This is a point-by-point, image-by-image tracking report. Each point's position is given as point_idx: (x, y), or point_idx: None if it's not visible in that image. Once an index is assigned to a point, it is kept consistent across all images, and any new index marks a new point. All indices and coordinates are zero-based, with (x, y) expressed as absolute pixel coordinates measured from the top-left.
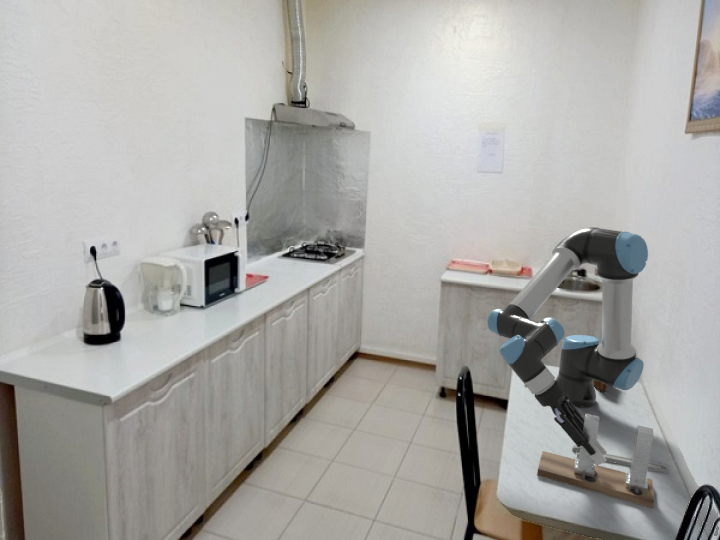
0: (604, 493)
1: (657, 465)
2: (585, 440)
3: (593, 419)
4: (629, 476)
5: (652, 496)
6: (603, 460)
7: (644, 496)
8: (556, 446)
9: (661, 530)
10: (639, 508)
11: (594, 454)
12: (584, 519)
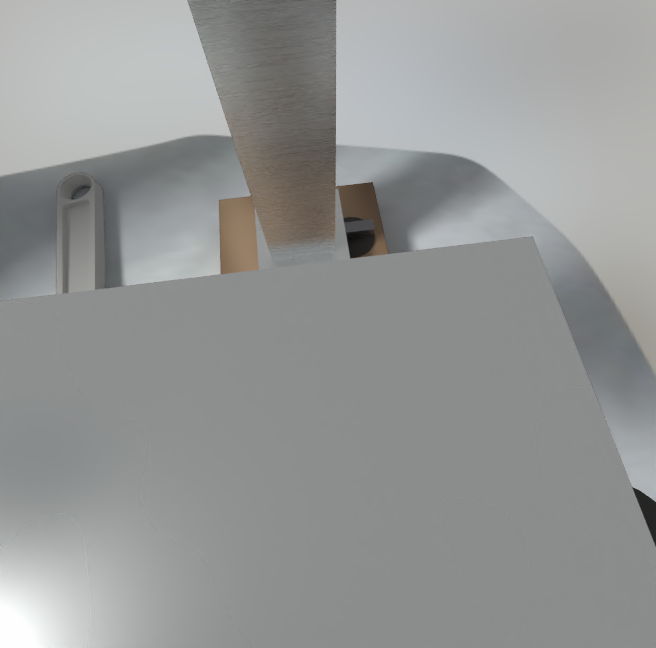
0: None
1: (69, 206)
2: (648, 509)
3: (443, 500)
4: (297, 252)
5: (345, 188)
6: None
7: (365, 210)
8: None
9: (478, 174)
10: (403, 236)
11: None
12: (643, 395)
